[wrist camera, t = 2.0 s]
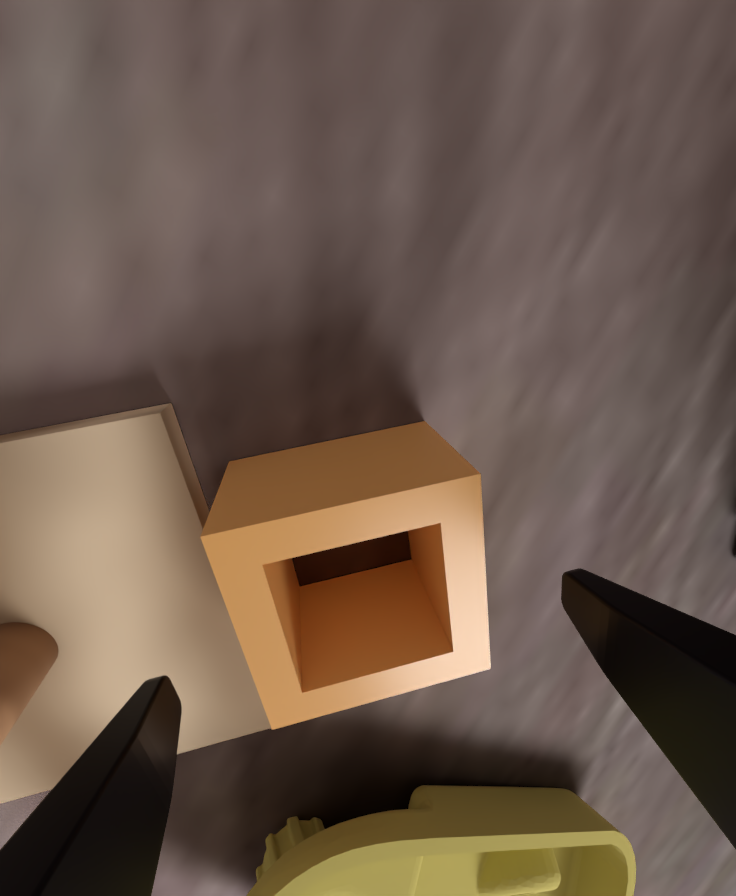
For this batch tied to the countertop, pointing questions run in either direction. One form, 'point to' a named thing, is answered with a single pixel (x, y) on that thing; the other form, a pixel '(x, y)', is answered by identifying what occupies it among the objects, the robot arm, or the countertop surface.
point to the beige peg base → (107, 594)
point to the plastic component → (455, 849)
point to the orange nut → (359, 594)
